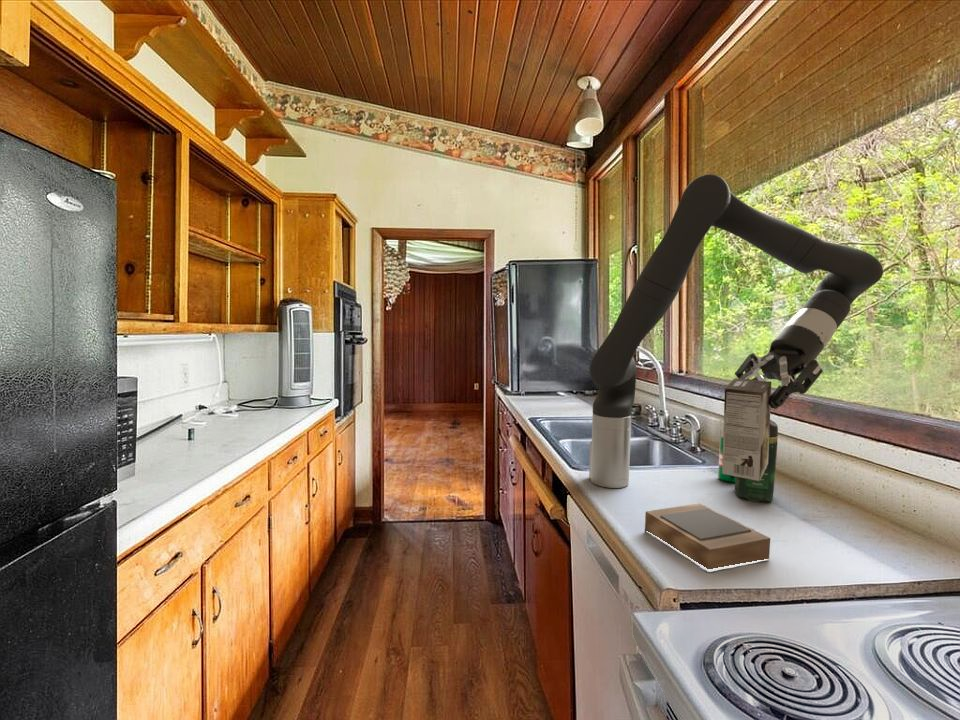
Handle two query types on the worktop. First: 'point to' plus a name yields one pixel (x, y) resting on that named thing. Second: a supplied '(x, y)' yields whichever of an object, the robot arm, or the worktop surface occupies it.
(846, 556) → the worktop surface
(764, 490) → the coffee jar
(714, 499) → the worktop surface
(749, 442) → the coffee box
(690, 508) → the block
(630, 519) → the worktop surface
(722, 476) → the soda can
